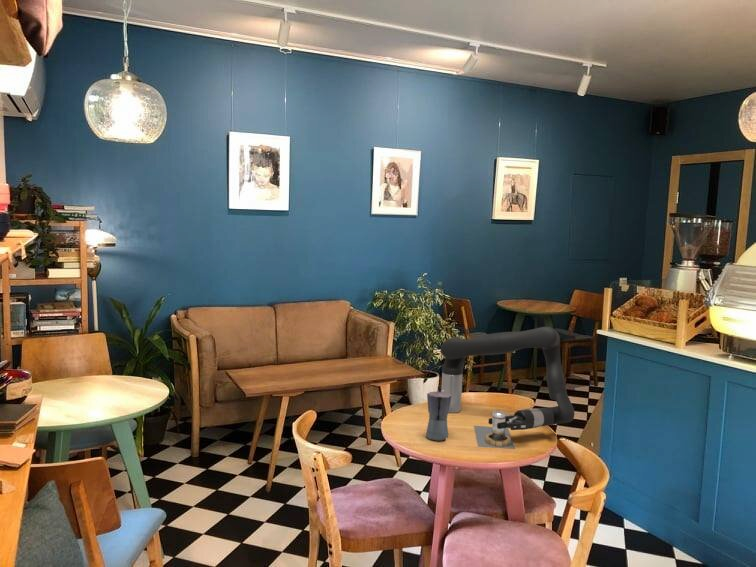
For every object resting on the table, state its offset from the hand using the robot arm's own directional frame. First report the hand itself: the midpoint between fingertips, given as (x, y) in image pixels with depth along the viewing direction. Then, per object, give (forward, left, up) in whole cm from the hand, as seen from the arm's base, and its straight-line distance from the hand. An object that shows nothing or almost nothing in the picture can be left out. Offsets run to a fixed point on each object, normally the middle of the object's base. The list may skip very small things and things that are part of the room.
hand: (493, 423), depth 225 cm
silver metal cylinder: (+2, +1, -6) cm, 7 cm away
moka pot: (-21, +4, -9) cm, 23 cm away
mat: (+1, +7, -9) cm, 11 cm away
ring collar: (+2, +1, -8) cm, 8 cm away
